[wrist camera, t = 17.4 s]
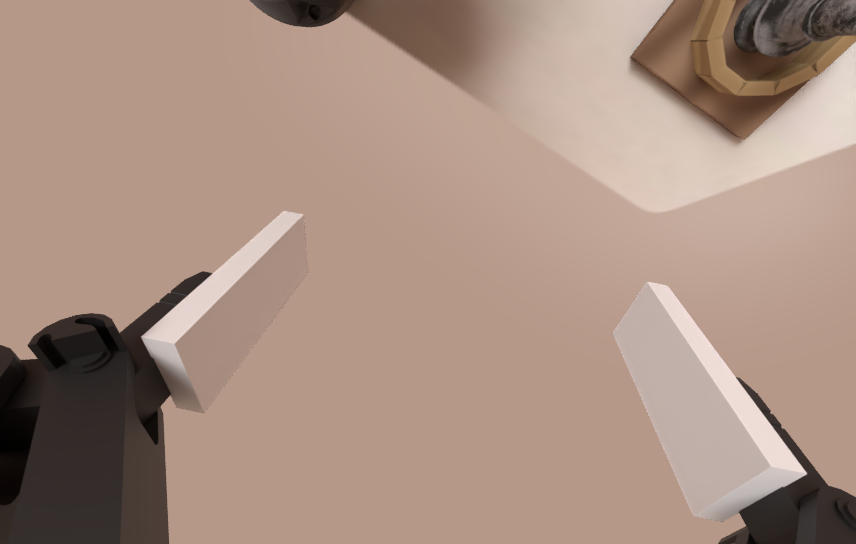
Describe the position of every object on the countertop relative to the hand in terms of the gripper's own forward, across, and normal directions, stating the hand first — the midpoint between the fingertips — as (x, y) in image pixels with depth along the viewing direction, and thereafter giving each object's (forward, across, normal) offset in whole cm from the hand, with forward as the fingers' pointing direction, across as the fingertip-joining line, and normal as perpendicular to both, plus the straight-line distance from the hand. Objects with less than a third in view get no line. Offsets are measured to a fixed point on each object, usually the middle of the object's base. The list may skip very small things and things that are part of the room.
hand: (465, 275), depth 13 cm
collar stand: (+34, +25, +13) cm, 45 cm away
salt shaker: (+33, +25, +13) cm, 44 cm away
